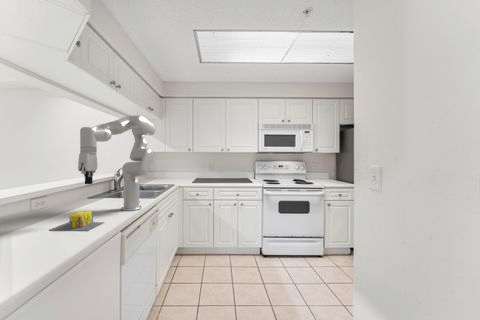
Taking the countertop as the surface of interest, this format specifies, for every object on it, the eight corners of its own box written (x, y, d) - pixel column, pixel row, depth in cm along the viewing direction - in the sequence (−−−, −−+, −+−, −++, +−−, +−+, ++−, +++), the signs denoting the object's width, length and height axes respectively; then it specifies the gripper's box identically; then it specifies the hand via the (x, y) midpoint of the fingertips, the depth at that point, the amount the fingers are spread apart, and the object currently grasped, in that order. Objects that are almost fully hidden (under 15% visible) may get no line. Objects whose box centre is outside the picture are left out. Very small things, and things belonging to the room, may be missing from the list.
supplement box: (93, 221, 133) (81, 227, 122) (82, 221, 132) (69, 227, 122) (93, 210, 133) (81, 216, 122) (82, 210, 132) (68, 216, 121)
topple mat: (69, 222, 132) (69, 221, 132) (104, 222, 132) (104, 222, 132) (48, 230, 118) (48, 229, 118) (87, 231, 118) (87, 230, 118)
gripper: (90, 150, 140) (90, 182, 140) (72, 150, 125) (72, 185, 126) (103, 150, 140) (103, 182, 140) (86, 150, 125) (86, 185, 125)
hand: (88, 183), depth 133 cm, fingers closed
